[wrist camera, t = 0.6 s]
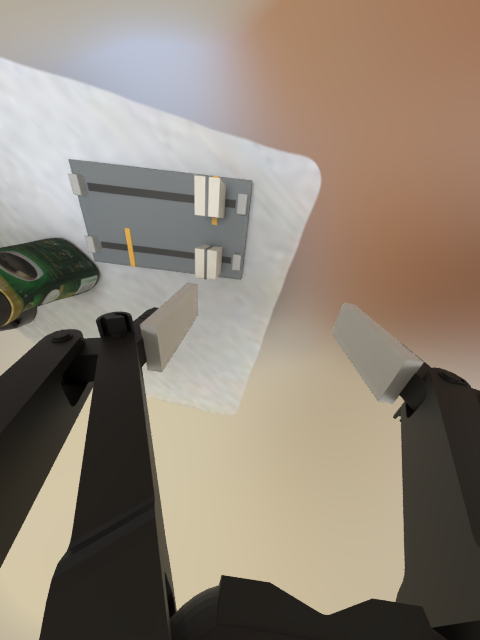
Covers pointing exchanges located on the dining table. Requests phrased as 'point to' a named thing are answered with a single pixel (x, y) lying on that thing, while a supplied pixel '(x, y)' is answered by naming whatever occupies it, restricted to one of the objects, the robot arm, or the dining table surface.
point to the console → (157, 217)
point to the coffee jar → (41, 275)
